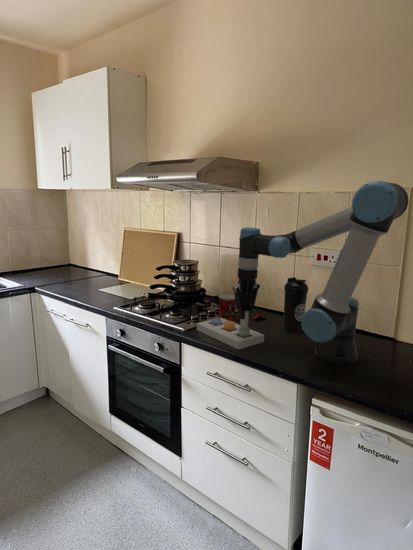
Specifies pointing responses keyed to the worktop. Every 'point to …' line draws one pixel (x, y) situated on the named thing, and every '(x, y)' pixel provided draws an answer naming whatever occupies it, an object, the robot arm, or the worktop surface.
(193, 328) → the worktop surface
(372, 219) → the robot arm
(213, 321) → the button slate
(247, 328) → the button sage
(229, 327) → the button orange
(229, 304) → the canned food
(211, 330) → the console
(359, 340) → the worktop surface
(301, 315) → the water bottle
